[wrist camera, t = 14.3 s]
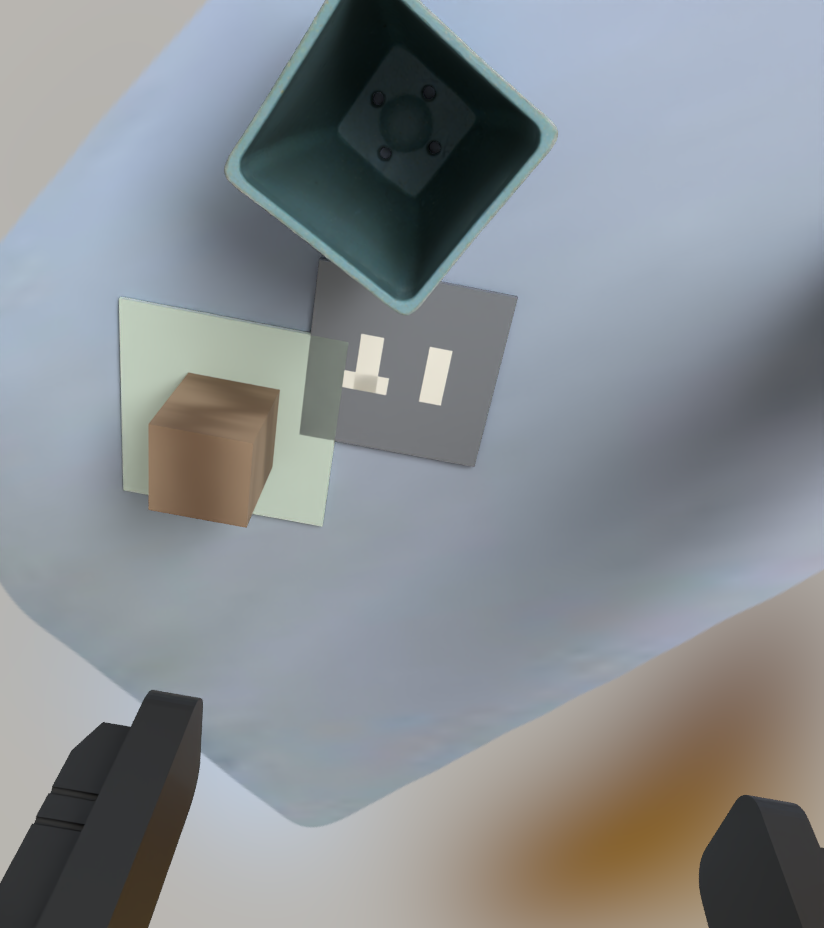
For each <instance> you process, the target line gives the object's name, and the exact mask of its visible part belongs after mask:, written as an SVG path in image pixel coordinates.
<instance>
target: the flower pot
mask: <svg viewBox="0 0 824 928" xmlns="http://www.w3.org/2000/svg"><path fill="white" fill-rule="evenodd" d="M427 86H431V87H433V88H434V89H435V95H434V97H433V98H431V99H427V98H425V96H424V94H423V91H424V88H425V87H427ZM376 92H380V93H382V94H383V96H384V102H383V103H382V104H380V105H376V104H375V103H374V101H373V95H374V94H375V93H376ZM557 137H558V130H557V128H556V126H555V124H554V123H553V122H552V121H551V120H550V119H549V118H548V117H547V116H546V115H545V114H544V113H542V112H541V111H540V110H538V109H537V108H536V107H535V106H534V105H533V104H532V103H531V102H529V101H528V100H527V99H526V98H525V97H524V96H523V95H522V94H520V93H519V92H518V91H517V90H516V89H515V88H514V87H513V86H512V85H511V84H509V83H508V82H507V81H506V80H505V79H504V78H503V77H502V76H500V75H499V74H498V73H497V72H496V71H495V70H494V69H492V67H490V66H489V65H488V64H487V63H486V62H485V61H484V60H483V59H482V58H480V57H479V56H478V55H477V54H476V53H475V52H474V51H473V50H472V49H471V48H470V47H469V46H467V45H466V44H465V42H464V41H462V40H461V39H460V38H459V37H458V36H457V35H456V34H455V33H454V32H453V31H452V30H450V29H449V28H448V27H447V26H446V25H445V24H444V23H443V22H442V21H441V20H440V19H439V18H438V17H437V16H436V15H435V14H433V13H432V12H431V11H430V10H429V9H428V8H427V7H426V6H425V5H424V4H423V3H422V2H421V1H420V0H325V2H324V3H323V5H322V7H321V9H320V10H319V12H318V13H317V15H316V17H315V18H314V20H313V22H312V24H311V26H310V27H309V29H308V31H307V32H306V33H305V35H304V37H303V39H302V40H301V42H300V44H299V46H298V47H297V48H296V50H295V52H294V54H293V55H292V57H291V59H290V60H289V61H288V63H287V64H286V66H285V68H284V70H283V71H282V73H281V75H280V76H279V78H278V80H277V81H276V83H275V85H274V86H273V88H272V89H271V91H270V93H269V94H268V96H267V97H266V99H265V101H264V102H263V104H262V105H261V107H260V109H259V110H258V112H257V113H256V115H255V116H254V118H253V120H252V121H251V123H250V124H249V126H248V128H247V129H246V130H245V132H244V134H243V135H242V137H241V138H240V140H239V141H238V143H237V144H236V145H235V147H234V149H233V150H232V152H231V153H230V155H229V157H228V159H227V161H226V164H225V168H224V173H225V175H226V178H227V180H228V181H229V182H230V183H231V184H232V185H233V186H235V187H236V188H237V189H238V190H239V191H240V192H241V193H243V194H245V195H246V196H248V197H249V198H250V199H252V200H253V201H254V202H255V203H256V204H258V205H259V206H261V207H262V208H263V209H265V210H266V211H267V212H268V213H270V214H271V215H272V216H274V217H275V218H276V219H278V220H279V221H280V222H281V223H282V224H284V225H285V226H287V227H288V228H289V229H290V230H292V231H293V232H294V233H295V234H296V235H298V236H299V237H300V238H302V239H303V240H305V241H306V242H307V243H309V244H310V245H311V246H312V247H313V248H315V249H316V250H317V251H318V252H320V253H321V254H322V255H324V256H325V257H326V258H327V259H329V260H330V261H331V262H332V263H334V264H335V265H337V266H338V267H339V268H340V269H341V270H343V271H344V272H345V273H346V274H348V275H349V276H350V277H351V278H353V279H354V280H355V281H357V282H358V283H359V284H360V285H362V286H363V287H364V288H365V289H367V290H368V291H369V292H371V293H372V294H373V295H374V296H375V297H376V298H378V299H379V300H380V301H382V302H383V303H384V304H385V305H386V306H388V307H389V308H391V309H392V310H394V311H395V312H396V313H398V314H401V315H405V316H408V315H410V314H412V313H413V312H415V311H416V310H417V309H418V308H419V307H420V306H421V305H422V304H423V302H424V301H425V300H426V299H427V297H428V296H429V295H430V294H431V293H432V291H433V290H434V289H435V287H436V286H437V285H438V284H439V282H440V281H441V280H442V279H443V278H444V276H445V275H446V274H447V273H448V271H449V270H450V269H451V268H452V266H453V265H454V264H455V263H456V262H457V260H458V259H459V258H460V257H461V255H462V254H463V253H464V251H465V250H466V249H467V248H468V247H469V246H470V245H471V243H472V242H473V241H474V239H475V238H476V237H477V236H478V235H479V234H480V232H481V231H482V230H483V229H484V228H485V227H486V225H487V224H488V223H489V222H490V220H491V219H492V218H493V217H494V216H495V215H496V214H497V213H498V211H499V210H500V209H501V208H502V207H503V205H504V204H505V203H506V202H507V201H508V199H509V198H510V197H511V196H512V195H513V193H515V191H516V190H517V189H518V188H519V187H520V186H521V184H522V183H523V182H524V181H525V180H526V178H527V177H528V176H529V175H530V173H531V172H532V171H533V170H534V169H535V168H536V167H537V166H538V164H539V163H540V162H541V161H542V160H543V159H544V158H545V156H546V155H547V154H548V153H549V152H550V150H551V149H552V147H553V146H554V144H555V143H556V140H557ZM433 141H436V142H438V143H439V144H440V151H439V152H438V153H435V154H433V153H431V152H430V150H429V144H430V143H431V142H433ZM383 147H387V148H389V149H390V150H391V156H390V157H389V158H387V159H385V158H383V157H382V156H381V155H380V150H381V149H382V148H383Z"/></svg>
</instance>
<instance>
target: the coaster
mask: <svg viewBox="0 0 824 928" xmlns="http://www.w3.org/2000/svg"><path fill="white" fill-rule="evenodd" d="M119 324H120V367H121V411H122V454H123V490H124V491H130V492H135V493H141V494H146V495H149V468H148V424H149V423H150V421H151V420H152V419H153V417H154V416H155V415H156V414H157V412H158V411H159V410H160V408H161V407H162V406H163V405H164V403H165V402H166V401H167V399H168V398H169V397H170V396H171V394H172V393H173V392H174V390H175V389H176V388H177V387H178V385H179V384H180V383H181V381H182V380H183V379H184V378H185V376H186V375H187V374H188V372H189V373H194V374H199V375H205V376H210V377H215V378H220V379H226V380H231V381H236V382H242V383H247V384H252V385H258V386H263V387H268V388H274V389H279V390H280V395H279V405H278V415H277V426H276V436H275V446H274V457H273V467H272V469H271V472H270V474H269V476H268V479H267V481H266V483H265V486H264V488H263V490H262V493H261V495H260V497H259V500H258V502H257V504H256V507H255V509H254V511H253V513H252V514H256V515H262V516H267V517H273V518H278V519H284V520H289V521H295V522H300V523H306V524H311V525H316V526H323V520H324V513H325V506H326V500H327V493H328V486H329V479H330V472H331V465H332V458H333V451H334V444H335V440H333V439H332V437H333V438H334V439H335V437H334V436H335V434H336V427H337V426H335V425H337V424H336V422H337V420H338V419H337V418H338V417H337V416H338V415H336V413H337V414H338V413H339V406H340V405H339V404H338V405H334V404H337V403H338V402H340V401H338V399H339V398H341V396H339V395H340V394H341V392H342V391H341V392H340V391H339V390H340V388H339V387H341V386H342V385H341V384H342V383H343V380H342V381H341V380H340V381H339V380H338V379H343V377H341V376H344V375H343V373H344V371H343V372H341V371H342V370H341V371H339V368H340V365H341V364H342V363H343V364H344V365H343V364H342V365H341V367H342V366H343V367H344V366H345V363H346V360H342V359H344V358H346V357H345V356H344V355H345V353H346V352H347V350H346V349H347V348H348V347H346V348H345V346H347V345H348V342H347V345H346V344H345V346H344V345H343V344H344V343H342V341H341V342H340V341H339V342H340V344H342V345H341V346H342V348H340V347H341V346H340V344H339V342H338V340H337V342H336V340H333V339H331V340H330V339H329V338H328V339H326V338H325V339H323V341H322V340H319V338H320V337H318V340H319V341H320V342H321V341H322V342H321V343H323V344H321V343H320V344H319V343H318V342H317V341H318V340H316V342H317V343H316V344H317V346H319V347H320V348H321V349H322V350H321V351H320V350H319V352H317V350H318V349H319V347H317V346H315V345H316V344H314V343H315V340H314V338H315V339H317V338H316V336H313V337H314V338H313V337H312V338H313V339H312V340H314V341H312V340H311V333H309V332H304V331H299V330H294V329H288V328H283V327H278V326H273V325H267V324H262V323H257V322H252V321H246V320H241V319H236V318H231V317H226V316H220V315H215V314H210V313H205V312H199V311H194V310H189V309H184V308H178V307H173V306H168V305H163V304H157V303H152V302H147V301H142V300H136V299H131V298H126V297H120V298H119ZM323 338H324V337H323ZM320 339H321V338H320ZM324 340H325V344H324ZM327 340H328V341H329V342H331V344H330V343H329V342H328V343H326V342H327ZM310 341H311V342H310ZM334 341H335V342H336V343H337V344H336V343H335V342H334ZM333 342H334V343H335V345H334V344H333ZM343 342H345V341H343ZM310 343H312V344H314V345H312V344H310ZM345 343H346V342H345ZM318 344H319V345H318ZM327 344H330V345H332V346H329V345H327ZM338 344H339V346H340V347H339V346H338V347H339V348H337V345H338ZM311 345H312V346H314V347H315V352H316V353H315V352H314V350H313V348H314V347H312V346H311ZM320 345H323V346H320ZM325 345H326V346H327V347H325ZM333 345H334V346H335V347H336V349H337V351H335V350H336V349H335V348H334V349H333V348H332V349H333V350H334V351H335V353H336V352H337V353H336V356H335V353H332V352H333V350H332V352H331V349H330V350H329V348H328V346H329V347H330V348H331V347H334V346H333ZM343 346H344V348H345V350H344V348H343ZM309 347H311V349H312V350H311V349H310V348H309ZM322 347H324V349H323V348H322ZM316 348H317V350H316ZM326 348H327V349H326ZM338 349H339V350H340V349H342V351H343V353H344V355H342V354H343V353H342V351H341V350H340V351H339V350H338ZM310 350H311V351H313V352H314V353H315V354H316V355H315V354H314V353H313V352H312V353H313V357H314V358H315V357H316V356H317V353H318V355H320V356H321V355H322V354H320V352H322V353H324V354H325V352H326V350H327V352H331V353H330V354H331V356H330V354H328V355H329V356H330V357H329V356H328V359H329V358H330V359H329V363H330V364H329V363H328V360H327V359H326V358H327V356H326V358H324V357H323V358H322V356H323V355H324V354H323V355H322V356H321V361H319V362H320V363H322V364H320V363H319V362H318V360H320V359H317V357H316V358H315V359H317V360H316V361H317V363H316V361H315V360H314V359H313V360H314V361H315V363H314V364H315V365H314V364H313V360H312V358H313V357H312V355H310V353H311V351H310ZM324 350H325V352H324ZM338 351H339V354H340V352H341V354H340V356H338V355H339V354H338ZM344 351H345V352H344ZM308 353H309V355H310V357H309V355H308ZM337 354H338V355H337ZM325 355H327V353H326V354H325ZM325 355H324V356H325ZM333 355H334V356H333ZM341 355H342V356H343V357H344V358H343V357H342V356H341ZM346 355H347V353H346ZM320 356H318V358H319V357H320ZM311 357H312V358H311ZM331 357H332V358H333V357H334V358H333V360H332V359H331ZM335 357H338V358H335ZM309 358H311V361H310V360H309ZM341 358H342V359H341ZM323 360H324V361H323ZM325 360H326V361H325ZM331 360H332V361H331ZM338 360H339V361H338ZM340 360H342V362H340ZM308 361H310V363H311V362H312V363H311V364H310V363H309V365H310V366H309V365H307V362H308ZM322 361H323V362H327V363H328V364H327V363H326V364H325V363H324V364H325V365H324V364H323V362H322ZM337 361H338V363H337ZM343 361H344V362H345V363H344V362H343ZM334 362H336V363H337V364H338V365H339V364H340V363H341V364H340V365H339V366H338V365H337V366H336V365H335V364H336V363H334ZM333 363H334V364H333ZM317 364H318V365H319V364H320V365H322V366H321V367H320V365H319V366H316V365H317ZM332 364H333V365H334V368H335V369H334V371H335V370H337V368H338V371H339V372H338V371H337V372H336V371H335V372H334V371H333V369H331V370H332V371H333V372H334V373H333V372H332V371H331V370H329V368H328V369H327V368H326V366H327V367H328V366H329V365H331V366H330V368H332V367H333V366H332ZM311 365H312V366H311ZM313 365H314V366H315V370H314V367H313ZM323 365H324V366H325V367H323ZM308 366H309V367H313V368H310V371H311V372H310V371H309V367H308ZM335 366H336V367H337V368H336V367H335ZM318 367H319V368H321V369H322V367H323V368H324V369H327V370H328V371H326V373H324V374H322V373H323V372H325V371H324V369H322V370H323V371H320V372H322V373H319V372H318V371H319V370H320V369H319V368H318ZM316 368H317V369H316ZM311 369H312V370H314V371H312V370H311ZM318 369H319V370H318ZM341 369H343V368H341ZM344 369H345V367H344ZM344 369H343V370H344ZM307 370H308V371H307ZM317 370H318V371H317ZM306 371H307V372H308V373H309V374H311V375H309V374H308V373H306ZM316 371H317V373H319V374H318V375H317V376H315V375H314V374H316V373H315V372H316ZM312 372H314V373H313V374H312ZM327 372H328V373H329V374H328V373H327ZM331 372H332V373H333V374H332V373H331ZM330 373H331V375H332V376H333V375H334V376H333V377H332V376H331V375H330ZM337 373H338V374H339V375H340V373H342V375H340V376H339V375H338V374H337ZM306 374H307V375H308V376H307V375H306ZM325 374H326V375H327V374H328V375H327V377H328V376H331V377H330V378H332V379H333V378H334V377H335V375H336V376H338V377H341V378H338V377H335V378H334V379H335V380H337V381H336V382H335V380H334V379H333V380H334V382H335V383H336V385H334V384H335V383H334V382H333V380H332V379H330V378H327V377H326V378H327V379H329V380H330V381H332V382H333V385H334V386H333V385H332V384H331V387H332V388H333V389H334V390H336V391H337V390H338V391H339V394H338V393H337V392H336V391H334V390H333V389H331V390H332V391H334V392H332V391H331V390H329V389H330V388H331V387H329V386H330V384H329V383H328V381H329V380H328V381H327V380H326V378H325ZM319 375H321V376H319ZM310 376H311V377H312V376H313V377H314V376H315V377H314V378H312V379H310ZM323 376H324V377H323ZM307 377H309V379H310V382H309V380H306V378H307ZM316 377H317V378H316ZM319 377H321V378H319ZM322 378H323V379H322ZM336 378H338V379H336ZM314 379H315V380H316V381H317V380H318V381H317V382H318V384H319V385H320V384H323V385H324V383H326V384H327V386H328V388H329V389H328V388H327V386H326V384H325V385H324V386H326V388H327V389H326V388H325V387H324V386H323V388H325V389H326V390H325V389H323V388H321V387H322V386H321V385H320V393H319V390H318V389H317V388H315V387H319V386H317V385H318V384H316V386H315V384H314V383H315V382H316V381H314ZM324 379H325V380H324ZM305 380H306V381H307V383H308V382H309V383H308V385H307V383H306V384H305ZM312 380H313V382H314V383H313V382H312ZM319 381H321V382H322V381H324V382H322V383H321V382H320V383H319ZM326 381H327V382H326ZM330 381H329V382H330ZM317 382H316V383H317ZM340 382H341V383H340ZM310 383H311V384H312V385H313V386H312V385H311V386H312V387H314V386H315V387H314V388H315V389H316V390H318V391H317V393H318V394H317V393H314V392H312V394H313V393H314V394H313V395H312V394H311V395H312V396H314V395H315V396H316V394H317V395H319V394H320V395H321V393H322V394H324V392H325V396H323V395H322V396H323V397H325V398H327V397H329V396H330V395H331V396H332V395H333V397H335V398H336V399H337V400H335V399H334V398H333V397H331V396H330V397H329V400H330V399H334V400H331V401H330V402H328V401H329V400H328V398H327V399H324V398H323V397H322V396H318V397H317V396H316V397H315V396H314V397H315V398H317V399H315V398H314V397H312V396H311V395H310V393H309V392H310V391H313V389H314V388H313V389H312V387H311V388H309V384H310ZM339 383H340V385H341V386H340V385H339ZM337 384H338V385H337ZM305 385H307V387H306V386H305ZM338 386H339V387H338ZM334 387H335V388H334ZM337 387H338V388H339V389H338V388H337ZM304 388H305V389H307V390H305V391H304ZM311 389H312V390H311ZM321 389H322V390H325V391H324V392H322V390H321ZM309 390H310V391H309ZM316 390H314V391H315V392H316ZM341 390H342V387H341ZM306 391H307V392H308V394H309V395H310V396H311V398H310V396H309V397H305V396H306V395H307V394H306V393H305V392H306ZM328 391H331V392H330V393H329V392H328ZM326 392H327V393H328V394H327V395H328V396H327V395H326ZM335 392H336V393H337V394H336V395H338V396H337V397H336V395H335ZM332 393H333V394H332ZM304 394H306V395H304ZM326 396H327V397H326ZM303 397H304V398H303ZM320 397H322V398H323V399H322V398H321V399H322V400H323V401H325V400H326V401H327V403H329V404H327V405H328V408H331V409H330V410H332V411H330V410H329V411H330V412H331V415H333V417H332V416H331V417H332V419H331V417H330V418H328V416H326V414H328V413H329V414H330V412H329V411H328V410H327V412H328V413H325V412H326V411H325V410H326V409H328V408H326V409H325V407H326V406H327V405H326V406H325V403H324V404H323V403H321V401H320V402H319V403H320V404H323V406H324V407H323V406H322V407H323V408H322V407H321V406H319V407H320V408H321V410H322V411H323V410H324V409H325V410H324V412H322V413H318V412H321V410H320V408H319V407H318V406H316V409H317V407H318V408H319V409H317V410H318V411H317V410H316V411H315V405H316V404H315V403H316V402H318V401H316V402H315V400H319V399H320ZM308 398H309V399H311V400H312V398H314V401H313V402H311V401H310V402H311V403H310V404H312V403H314V404H312V405H313V406H314V409H313V407H310V408H311V409H313V412H312V410H311V409H310V410H309V409H308V410H309V411H307V408H309V406H310V404H309V403H306V402H305V403H306V404H304V403H303V402H304V401H306V400H307V399H308ZM318 398H319V399H318ZM304 399H305V400H304ZM309 399H308V401H307V402H309ZM323 401H322V402H323ZM335 401H336V402H337V403H336V402H335ZM331 402H334V404H332V406H334V407H333V408H335V409H337V410H336V411H334V410H335V409H332V407H331V406H330V405H331ZM319 403H318V404H317V405H320V404H319ZM307 404H308V405H309V406H308V405H307ZM304 405H305V406H304ZM312 405H311V406H312ZM303 406H304V407H307V406H308V407H307V408H306V411H307V412H308V413H309V412H312V413H309V415H310V416H311V415H312V414H316V412H317V413H318V414H316V415H317V417H318V418H317V417H316V418H317V419H318V421H319V416H320V417H321V418H320V419H322V416H324V417H325V418H327V420H328V419H331V420H328V421H329V422H328V421H326V422H324V420H325V419H322V420H323V421H322V420H321V421H322V422H324V423H327V422H328V426H327V427H326V425H325V424H324V423H322V426H325V428H326V429H325V428H324V427H322V429H323V428H324V430H322V429H320V428H321V427H320V425H319V427H320V428H319V427H318V426H317V425H316V424H315V423H313V424H312V425H313V428H314V426H315V425H316V426H315V427H316V428H317V432H318V431H319V430H320V431H319V432H320V434H319V432H318V433H317V434H315V433H316V431H315V430H316V428H314V429H310V428H312V427H311V426H310V427H308V425H309V424H310V425H311V423H312V422H311V421H312V420H315V421H316V420H317V419H316V418H314V417H315V415H312V416H314V417H313V418H312V416H311V419H309V420H307V418H310V416H309V415H308V416H306V415H307V414H308V413H307V412H306V414H305V412H304V415H302V416H301V414H302V413H303V411H302V410H304V411H305V408H304V407H303ZM329 406H330V407H329ZM302 407H303V408H304V409H303V408H302ZM314 411H315V413H314ZM333 411H334V412H335V415H336V416H334V413H333ZM323 413H324V414H325V415H324V414H323ZM332 413H333V414H332ZM320 414H321V415H322V414H323V415H322V416H321V415H320ZM303 416H304V420H305V418H306V417H307V418H306V420H305V421H306V422H305V421H304V420H303ZM305 416H306V417H305ZM329 416H330V415H329ZM333 418H334V419H335V418H336V419H337V420H336V419H335V420H336V421H335V420H334V419H333ZM301 420H303V421H304V422H305V423H302V425H303V426H302V425H301V424H300V423H301V422H302V421H301ZM333 420H334V421H333ZM309 421H310V422H309ZM330 421H331V422H330ZM332 421H333V423H334V424H335V425H334V424H333V426H332ZM307 422H309V424H307ZM313 422H314V421H313ZM316 422H317V421H316ZM319 422H320V421H319ZM320 423H321V422H320ZM320 423H318V422H317V424H320ZM330 423H331V425H330ZM306 424H307V426H306V427H307V428H309V429H310V430H311V436H312V435H313V433H312V432H314V431H315V432H314V434H315V435H316V436H315V435H313V436H312V437H310V433H308V431H309V432H310V430H309V429H308V430H307V429H306V430H307V431H306V430H304V435H303V431H302V432H301V431H300V428H301V430H303V429H302V427H303V428H304V429H305V428H306V427H304V425H306ZM314 424H315V425H314ZM300 425H301V426H302V427H300ZM329 425H330V427H329ZM334 427H335V430H334ZM329 428H331V431H330V429H329ZM318 429H319V430H318ZM328 429H329V431H328ZM321 430H322V432H321ZM323 431H324V432H325V433H326V432H327V434H326V435H325V433H323ZM334 431H335V432H334ZM300 432H301V433H302V435H299V434H300ZM305 432H306V433H308V436H307V434H306V433H305ZM328 432H330V434H331V432H334V433H332V434H331V435H332V436H331V435H330V434H329V433H328ZM321 433H322V434H324V436H323V437H324V438H323V437H322V434H321ZM328 434H329V435H328ZM305 435H306V436H305ZM327 435H328V436H327ZM314 436H315V437H314ZM318 436H319V437H318ZM320 436H321V438H320ZM325 436H327V437H325ZM329 436H330V437H331V438H330V437H329ZM322 438H323V439H322ZM326 438H328V439H326ZM329 438H330V439H329ZM332 440H333V441H332Z"/></svg>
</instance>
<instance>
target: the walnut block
mask: <svg viewBox="0 0 824 928" xmlns="http://www.w3.org/2000/svg"><path fill="white" fill-rule="evenodd" d="M279 395H280V390H279V389H274V388H268V387H263V386H258V385H252V384H247V383H242V382H236V381H231V380H226V379H220V378H215V377H210V376H205V375H199V374H194V373H189V372H188V374H187V375H186V376H185V378H184V379H183V380H182V381H181V383H180V384H179V385H178V387H177V388H176V389H175V390H174V392H173V393H172V394H171V396H170V397H169V398H168V399H167V401H166V402H165V403H164V405H163V406H162V407H161V408H160V410H159V411H158V412H157V414H156V415H155V416H154V417H153V419H152V420H151V421H150V423H149V424H148V468H149V510H152V511H158V512H163V513H169V514H174V515H180V516H185V517H191V518H196V519H202V520H207V521H213V522H218V523H224V524H229V525H235V526H240V527H247V525H248V523H249V520H250V518H251V516H252V513H253V511H254V509H255V507H256V504H257V502H258V500H259V497H260V495H261V493H262V490H263V488H264V486H265V483H266V481H267V479H268V476H269V474H270V472H271V469H272V467H273V457H274V446H275V436H276V426H277V415H278V405H279Z"/></svg>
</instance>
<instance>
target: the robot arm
mask: <svg viewBox="0 0 824 928" xmlns="http://www.w3.org/2000/svg"><path fill="white" fill-rule="evenodd" d="M202 714H203V701H202V699H201V698H196V697H191V696H185V695H179V694H173V693H168V692H162V691H156V690H151V691H149V692H148V694H147V695H146V697H145V698H144V700H143V702H142V704H141V707H140V709H139V711H138V713H137V715H136V717H135V719H134V721H133V724H132V726H131V727H128V726H123V725H117V724H111V723H105V722H103V723H101V724H100V725H99V726H98V727H97V728H96V729H95V730H94V731H93V732H92V733H91V734H89V735H88V736H87V737H86V738H85V739H84V740H83V741H82V742H81V743H79V744H78V745H77V746H76V747H75V748H74V749H73V750H72V751H71V753H70V755H69V756H68V758H67V760H66V762H65V764H64V766H63V767H62V769H61V771H60V773H59V775H58V777H57V779H56V780H55V782H54V784H53V786H52V791H51V793H50V794H48V796H47V797H46V799H45V801H44V803H43V805H42V806H41V808H40V810H39V812H38V814H37V816H36V820H35V823H34V824H32V825H31V827H30V829H29V831H28V832H27V834H26V836H25V838H24V840H23V842H22V844H21V846H20V847H19V849H18V851H17V853H16V855H15V857H14V859H13V860H12V862H11V864H10V866H9V868H8V870H7V872H6V874H5V876H4V877H3V879H2V881H1V883H0V928H148V926H149V923H150V920H151V918H152V915H153V912H154V909H155V906H156V904H157V901H158V898H159V895H160V892H161V889H162V886H163V883H164V881H165V878H166V875H167V872H168V869H169V866H170V864H171V861H172V858H173V855H174V852H175V849H176V847H177V844H178V840H179V838H180V835H181V832H182V829H183V826H184V824H185V821H186V818H187V815H188V812H189V809H190V806H191V803H192V800H193V796H194V792H195V789H196V784H197V779H198V773H199V768H200V754H201V734H202ZM699 888H700V895H701V899H702V903H703V907H704V911H705V915H706V918H707V922H708V926H709V928H824V848H820V846H819V844H818V841H817V839H816V837H815V834H814V832H813V829H812V827H811V825H810V822H809V820H808V818H807V816H806V814H805V812H804V811H803V810H802V809H801V807H800V806H798V805H797V804H794V803H789V802H783V801H778V800H773V799H766V798H761V797H755V796H749V795H743V796H740V797H739V798H738V799H737V800H736V802H735V803H734V805H733V806H732V808H731V810H730V811H729V813H728V814H727V816H726V818H725V819H724V821H723V822H722V824H721V825H720V827H719V828H718V830H717V832H716V833H715V835H714V836H713V838H712V840H711V841H710V843H709V844H708V846H707V847H706V849H705V851H704V853H703V855H702V858H701V862H700V868H699Z"/></svg>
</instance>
